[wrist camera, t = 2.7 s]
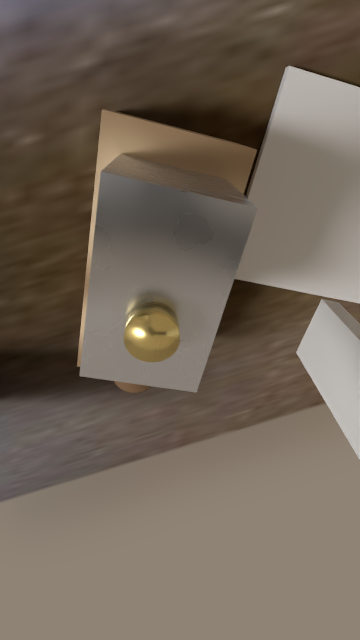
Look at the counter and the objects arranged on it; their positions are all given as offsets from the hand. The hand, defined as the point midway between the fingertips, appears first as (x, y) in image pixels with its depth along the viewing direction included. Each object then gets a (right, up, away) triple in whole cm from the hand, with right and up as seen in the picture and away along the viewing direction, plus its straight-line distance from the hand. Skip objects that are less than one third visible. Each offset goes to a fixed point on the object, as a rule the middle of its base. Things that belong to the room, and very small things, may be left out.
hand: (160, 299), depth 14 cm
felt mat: (+11, +6, +8) cm, 15 cm away
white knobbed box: (0, +3, +4) cm, 5 cm away
